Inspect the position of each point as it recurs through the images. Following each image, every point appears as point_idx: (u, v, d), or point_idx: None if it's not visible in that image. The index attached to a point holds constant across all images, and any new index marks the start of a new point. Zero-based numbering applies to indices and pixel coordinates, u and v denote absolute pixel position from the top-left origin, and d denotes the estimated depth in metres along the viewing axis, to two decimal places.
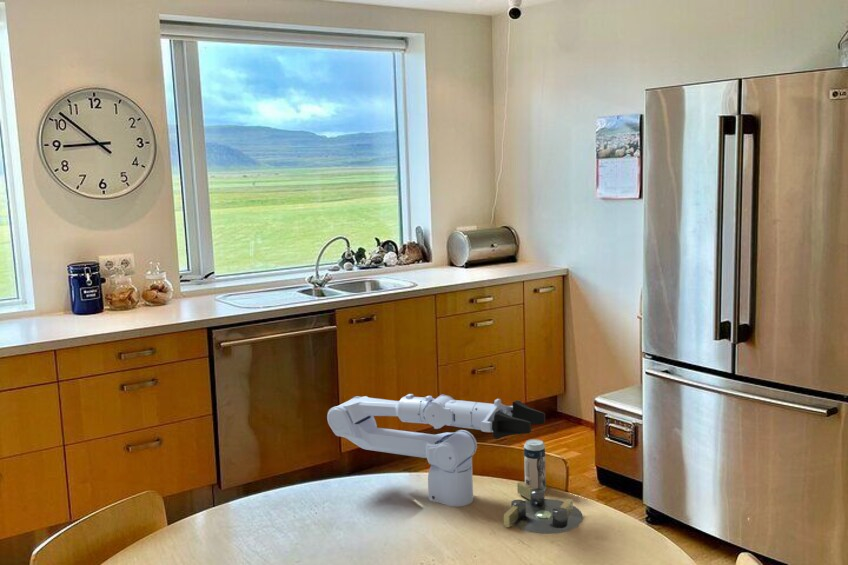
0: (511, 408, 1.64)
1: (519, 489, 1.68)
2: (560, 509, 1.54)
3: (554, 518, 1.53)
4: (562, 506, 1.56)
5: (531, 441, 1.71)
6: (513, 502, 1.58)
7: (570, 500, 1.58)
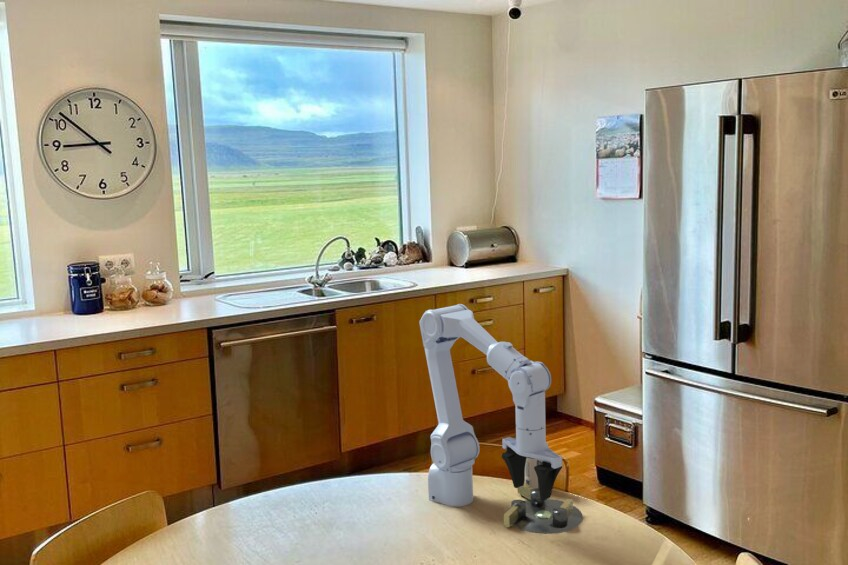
0: None
1: (519, 489, 1.68)
2: (560, 509, 1.54)
3: (554, 518, 1.53)
4: (562, 506, 1.56)
5: None
6: (513, 502, 1.58)
7: (570, 500, 1.58)
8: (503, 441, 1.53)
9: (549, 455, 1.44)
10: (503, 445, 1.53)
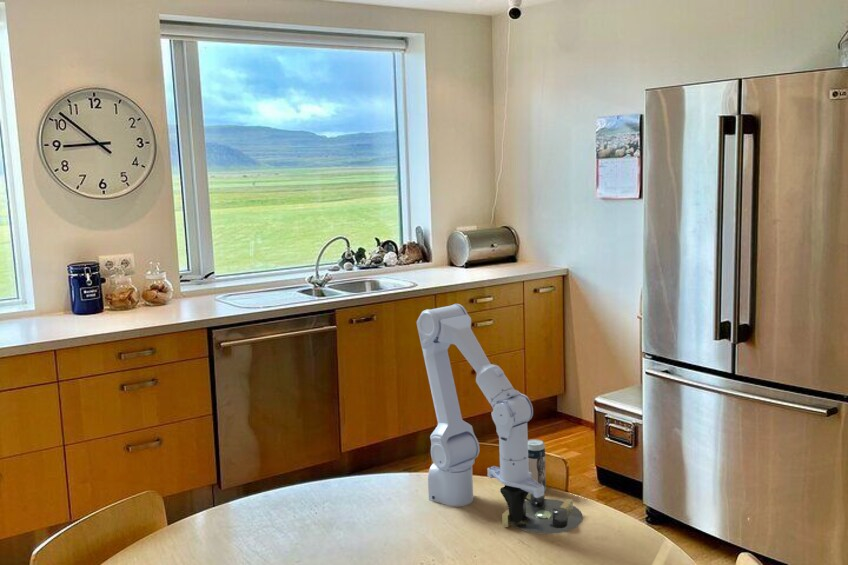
0: None
1: None
2: (560, 509, 1.54)
3: (554, 518, 1.53)
4: (562, 506, 1.56)
5: (531, 441, 1.71)
6: None
7: (570, 500, 1.58)
8: (488, 470, 1.58)
9: (531, 484, 1.49)
10: (488, 474, 1.58)
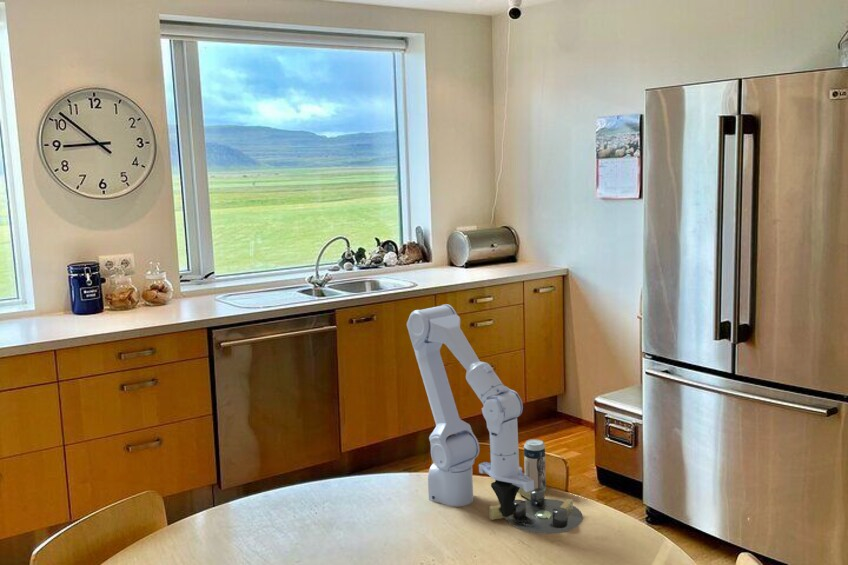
0: None
1: (519, 489, 1.68)
2: (560, 509, 1.54)
3: (554, 518, 1.53)
4: (562, 506, 1.56)
5: (531, 441, 1.71)
6: (515, 501, 1.59)
7: (570, 500, 1.58)
8: (479, 466, 1.60)
9: (522, 479, 1.51)
10: (480, 470, 1.60)
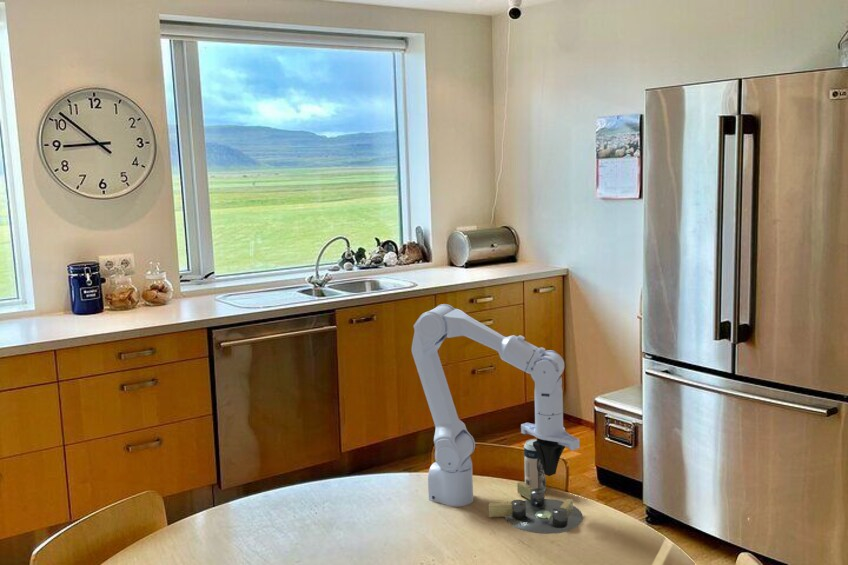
0: None
1: (519, 489, 1.68)
2: (560, 509, 1.54)
3: (554, 518, 1.53)
4: (562, 506, 1.56)
5: (531, 441, 1.71)
6: (516, 500, 1.59)
7: (570, 500, 1.58)
8: (522, 426, 1.62)
9: (567, 438, 1.54)
10: (522, 430, 1.63)
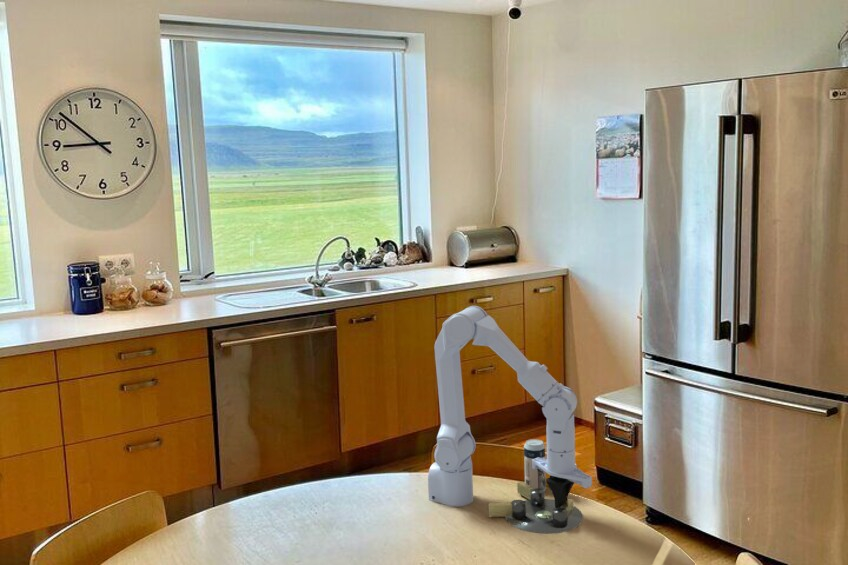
0: None
1: (519, 489, 1.68)
2: (560, 509, 1.54)
3: (554, 518, 1.53)
4: (562, 506, 1.56)
5: (531, 441, 1.71)
6: (516, 500, 1.59)
7: (571, 500, 1.58)
8: (533, 461, 1.62)
9: (579, 475, 1.53)
10: (533, 465, 1.62)
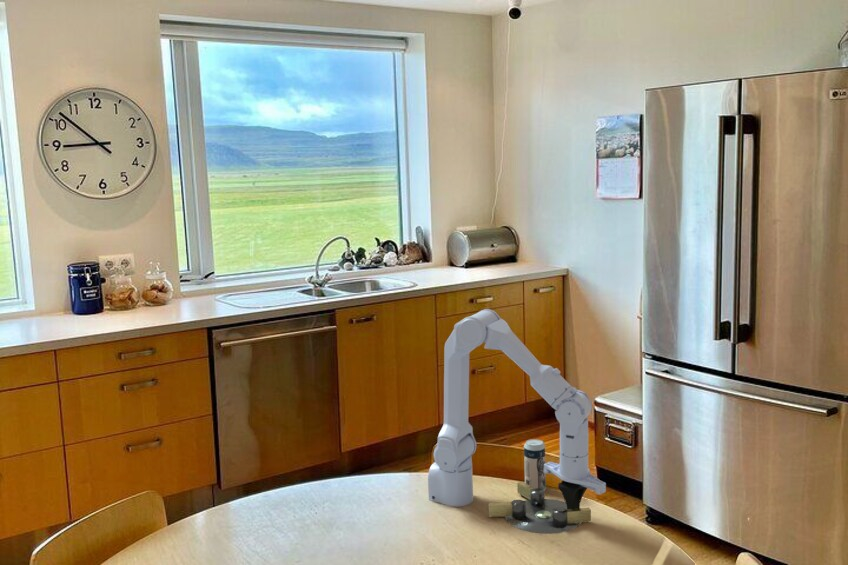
0: None
1: (519, 489, 1.68)
2: (562, 510, 1.54)
3: None
4: (570, 509, 1.54)
5: (531, 441, 1.71)
6: (516, 500, 1.59)
7: (587, 509, 1.54)
8: (545, 466, 1.59)
9: (593, 481, 1.50)
10: (545, 470, 1.59)
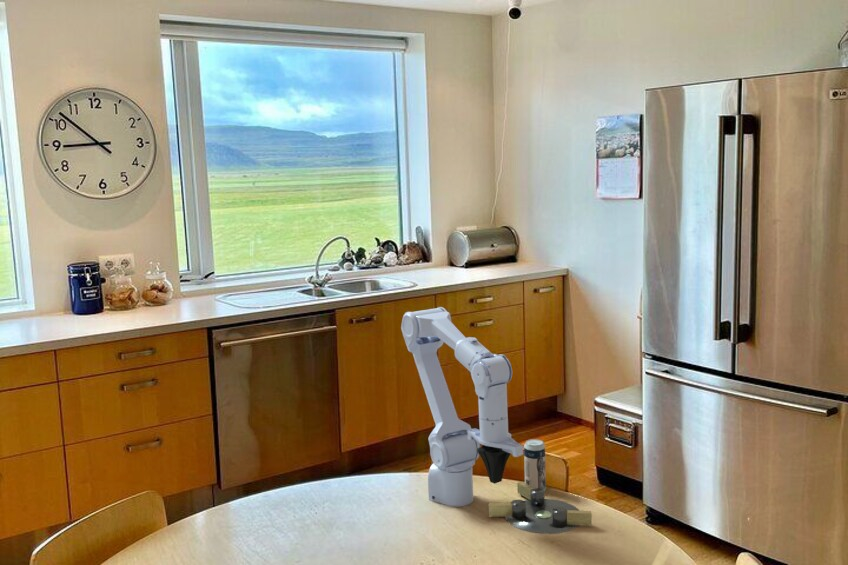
0: None
1: (519, 489, 1.68)
2: (562, 510, 1.54)
3: None
4: (571, 511, 1.54)
5: (531, 441, 1.71)
6: (516, 500, 1.59)
7: (588, 512, 1.53)
8: (468, 432, 1.58)
9: (511, 444, 1.49)
10: (468, 436, 1.58)
